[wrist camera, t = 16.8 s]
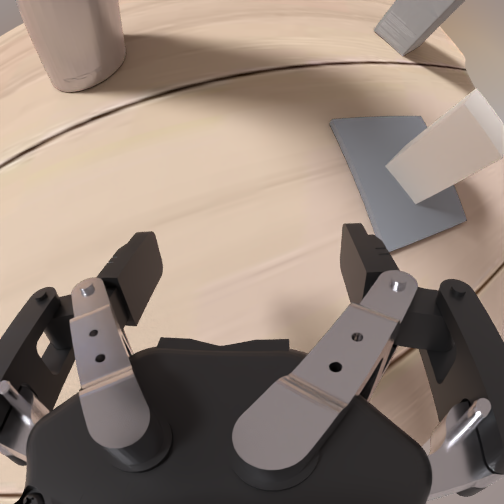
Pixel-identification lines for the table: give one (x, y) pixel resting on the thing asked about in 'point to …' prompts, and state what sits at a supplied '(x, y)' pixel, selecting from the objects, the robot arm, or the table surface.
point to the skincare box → (413, 22)
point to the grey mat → (392, 180)
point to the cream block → (450, 149)
